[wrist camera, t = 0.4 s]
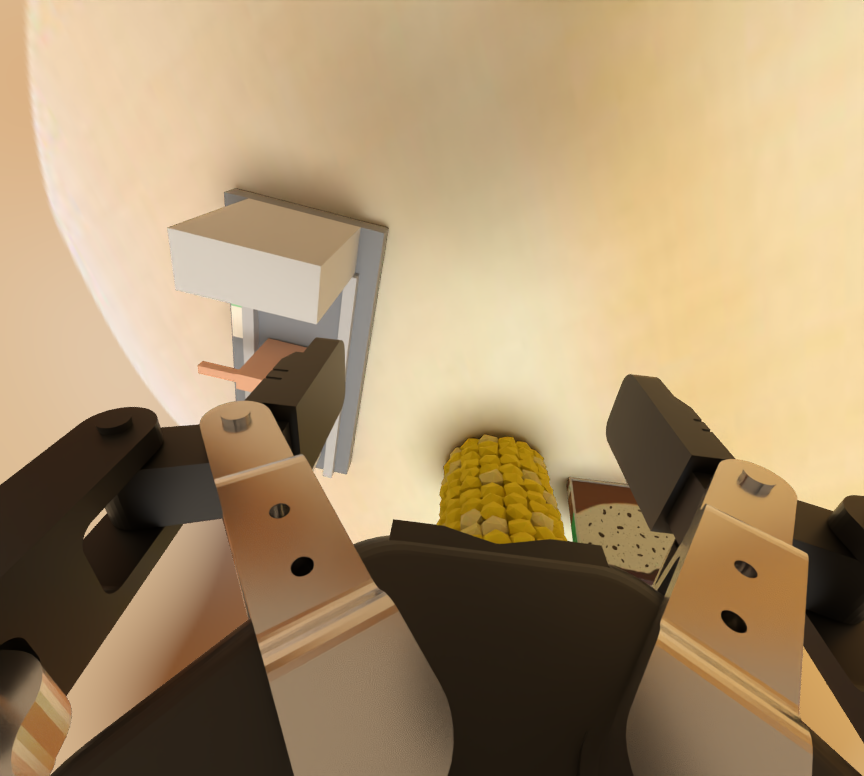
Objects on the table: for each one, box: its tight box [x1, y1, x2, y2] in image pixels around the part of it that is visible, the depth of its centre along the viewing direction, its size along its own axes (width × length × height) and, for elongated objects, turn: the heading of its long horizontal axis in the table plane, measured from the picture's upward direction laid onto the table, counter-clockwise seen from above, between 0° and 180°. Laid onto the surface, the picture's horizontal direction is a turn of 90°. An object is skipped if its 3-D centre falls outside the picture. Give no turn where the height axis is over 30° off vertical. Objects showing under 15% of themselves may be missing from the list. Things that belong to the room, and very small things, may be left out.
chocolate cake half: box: [567, 477, 675, 586], centre depth 35 cm, size 12×6×10 cm, turn 85°
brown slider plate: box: [198, 338, 307, 392], centre depth 28 cm, size 1×7×5 cm, turn 77°
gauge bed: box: [167, 189, 388, 478], centre depth 29 cm, size 22×10×10 cm, turn 167°
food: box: [437, 434, 567, 544], centre depth 32 cm, size 15×12×10 cm
